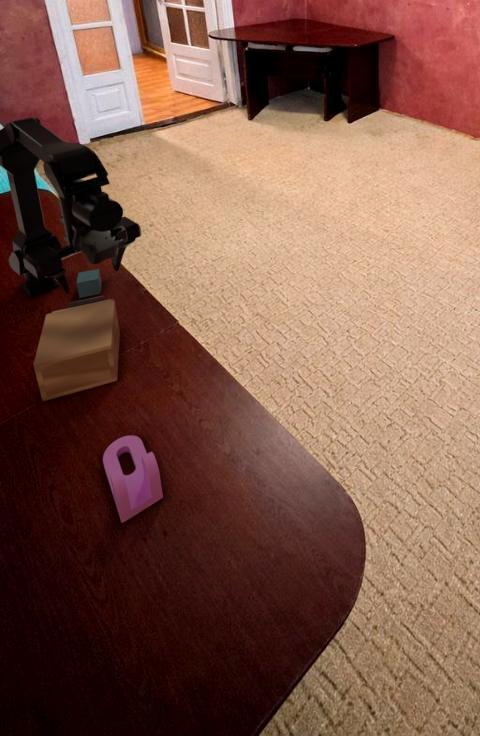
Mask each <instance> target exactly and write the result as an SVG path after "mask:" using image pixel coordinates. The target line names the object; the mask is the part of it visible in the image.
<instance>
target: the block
mask: <svg viewBox="0 0 480 736" xmlns="http://www.w3.org/2000/svg"><path fill="white" fill-rule="evenodd" d="M76 288H77V293H78V298H79V299H81V298H87V297H91V296H95V295H101V292H102V276H101V272H100V268H97V269H92V270H86V271H80V272H78V274H77V279H76Z"/></svg>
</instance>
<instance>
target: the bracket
mask: <svg viewBox="0 0 480 736" xmlns="http://www.w3.org/2000/svg"><path fill="white" fill-rule="evenodd" d="M125 453H129V454H130V457H131V459H132V462H133V465H134V468H135V469H134V471H132V473H130V474H124V472H123V470H122V467H121V464H120V460H119V457H120V456H121V455H123V454H125ZM102 463H103V469H104V471H105V475H106V478H107V480H108V484H109V488H110V490H111V493H112V497H113V501H114V503H115V506H116V510H117V513H118V516H119V520H120V522H121V524H123V523H125V522H127V521H128V520H130V519H132V518H133V517H134V516H136V515H138V514H139V513H141V512H143V511H144V510H146V509H148V508H150V507H151V506H152V505H153V504H155V503H157V502H158V501H160V500H162V499H163V498H164V495H163V488H162V481H161V474H160V469H159V465H158V461H157V458H156V457H155V453H154V452H153V451H150V452H148V453H147V450H146V447H145V445H144V442H143V441H142V439H141V437H139V436H137V435H134V434H133V435H129V434H128V435H125V436H122V437H119V438H117V439H115V440H114V441H113V442H112V443H111V444H109V445H108V446H107V447H106V449H105V450H104V453H103V455H102Z"/></svg>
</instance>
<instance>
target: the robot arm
mask: <svg viewBox="0 0 480 736" xmlns="http://www.w3.org/2000/svg"><path fill="white" fill-rule="evenodd" d="M40 161H41V162H42V163H43V165H42V166H43V167H42V168H43V171H44V174H45V176H46V178H47V180H48V181H49V182H50V184H51V185H52V187H53V188H54V190H55V192H56V193H57V198H58V202H59V208H60V213H61V216H59V220H60V222H61V223H62V224H63V228H64V232H65V233H64V234H63V240H64V242H66V244H67V245H66V246H63V247H62V241H61V240H60V239H59V238H58V237H57V235H56V234H54V233H53V232H51V230H49V229H48V228H47V227H46V224H45V219H44V213H43V208H42V203H41V198H40V193H39V187H38V182H37V177H36V176H37V175H36V171H35V169H36V168H37V166H38V164H39V163H40ZM0 167H1V168H2V169H3V170H5V171H6V175H7V180H8V184H9V185H8V186H9V190H10V194H11V198H12V203H13V208H14V212H15V217H16V221H17V226H18V230H17V231H16V234H15V236H14V237H13V239H12V241H11V242H12V249H13V251H12V252H11V254H10V256H9V258H8V264H9V266H10V268H11V269H12V270H13V271H14V273H16V274H17V275H18V276H23V281H24V282H23V283H21V284H19V288H20V289H21V290H23V292H25V294H27V295H28V296H29V297H30V298H35V297H36V296H39V295H41V294H43V293H45V292H49V291H50V290H52V289H55V288H56V287H60V288H61V290H62V291H63V292H64V293H65V294H66V295H69V294H70V293H71V292H70V287H69V282H68V280H67V277H66V271H67V270H66V269H65V268H64V264H63V260H65V259H67V258H70V257H72V256H74V255H75V256H76V255H77V254H80V253H82V254H83V255H84V256H85V257H86V258H87V260H88V262H89V263H90V264H92V265H98V264H101V263H103V261H106V260H108V259H110V260H111V265H112V268H113V271H115V272H119V270H120V267H121V264H122V260H123V257H124V254H125V251H126V249H127V247H128V246H130V245H131V244H133V243H134V242H135V241H136V239H138V238H140V237H141V236H142V229H141V228H142V227H141V225H140V224H139V223H138V222H136V221H134V220H133V219H131V218H129V217H127V216H123V215H124V208H123V207H122V205H121V203H119V201H116V200H115V199H113V198H111V197H110V195H109V194H108V193H107V192H105V191H103V190H102V187H104V186H108V185H110V180H109V178H108V176H109V173H108V170H107V169H106V168H105V166H104V164H103V163H102V161H101V159H100V157H99V156H98V154H97V153H96V152H95V151H94V150H93V149H91V148H90V147H89V146H87V145H85V144H82V143H80V142H71V141H70V142H69V141H65V140H63V139H62V138H60V137H59V136H58V135H56V133H54V132H52V131H51V130H50V129H48V128H47V127H46V126H44V125H43V124H42V122H41V121H40V119H39V118H38V117H32V116H31V117H30V116H29V117H26V118H19V119H15V120H14V119H13V120H11V121H10V120H9V122H7V123H5V125H4V127H2V128H0ZM93 176H95V177H93ZM89 177H92V178H89ZM85 178H89V179H85Z"/></svg>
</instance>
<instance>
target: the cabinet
mask: <svg viewBox="0 0 480 736" xmlns="http://www.w3.org/2000/svg"><path fill="white" fill-rule="evenodd" d="M120 336H121V331H120V324H119V318H118V313H117V306H116V301H115V299H112V300H110V301H106V302H101V303H96V304H92V305H87V306H82V307H78V308H73V309H68V310H64V311H59V312H54V313H52V312H49V313H46V314H45V318H44V322H43V325H42V330H41V334H40V338H39V342H38V345H37V349H36V353H35V356H34V361H33V368H34V373H35V376H36V381H37V385H38V388H39V389H38V390H39V392H40V397H41V401H42V402H46V401H49V400H53V399H57V398H60V397H63V396H67V395H71V394H75V393H78V392H83V391H85V390H88V389H89V390H90V389H93V388H96V387H99V386H103V385H106V384H110V383H115V382H117V381H118V374H119V373H118V371H119V357H120V356H119V355H120V338H121V337H120Z"/></svg>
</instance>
